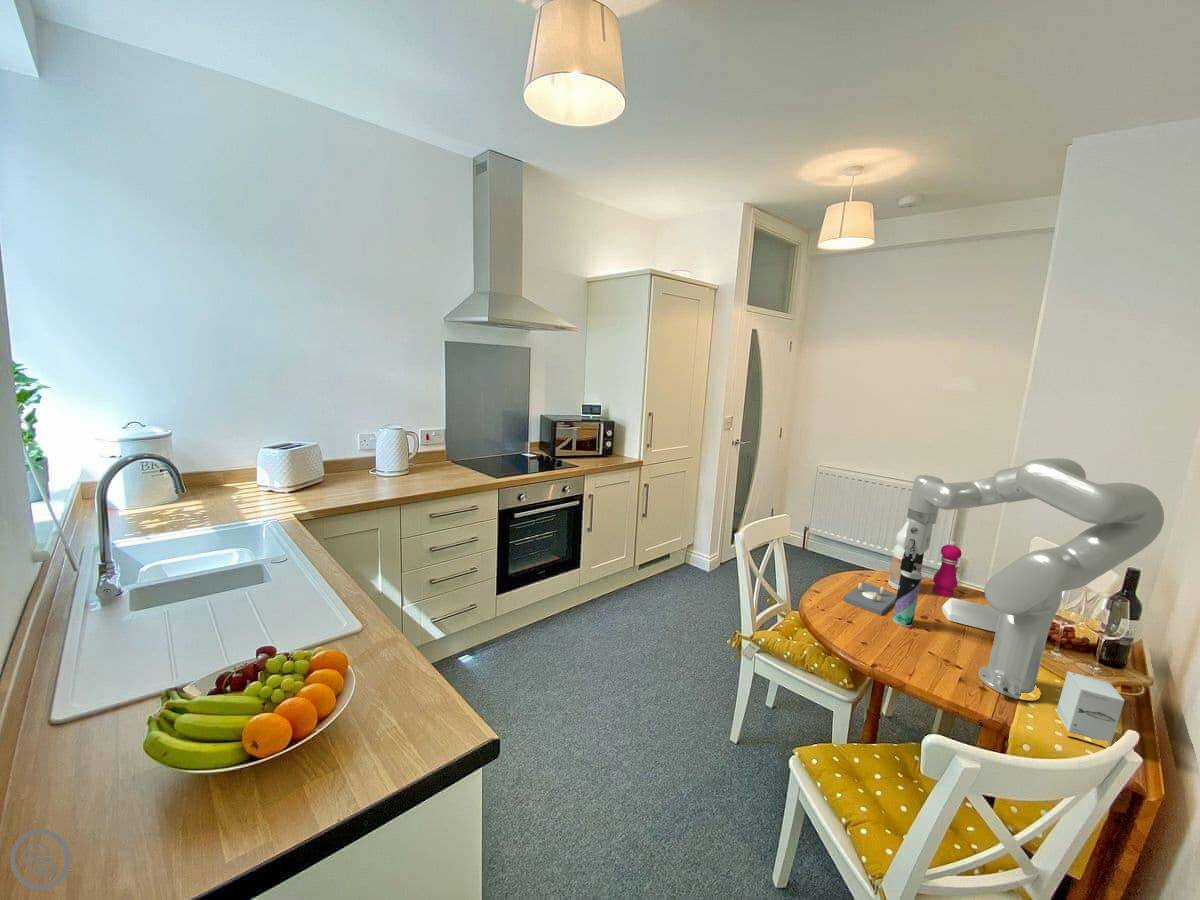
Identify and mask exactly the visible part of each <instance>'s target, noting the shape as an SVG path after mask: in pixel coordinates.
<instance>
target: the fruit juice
mask: <svg viewBox="0 0 1200 900" xmlns="http://www.w3.org/2000/svg"><path fill="white" fill-rule="evenodd" d="M909 521H910V520H909V519H908V518H907V517H906V522H905V524H904V525H903V526H902V528H901V529H900V530H899V531H898V532H897V534H896V537H895V539H896V544H895V546H894V548H893V551H892V557H891V562H890V568H889V574H888V580H887V584H888V586H889V585H890V586H891V587H890V586H889V587H890V588H892V589H893V588H894V590H895V589H896V590H895V591H898V587H899V581H900V576H901V571H902V570H901V569H900V567H901V562H902V558H903V555H904V552H905V550H904V541H905V537H906V532H907V528H908V525H909ZM911 550H912V549H911ZM924 557H925V556H923V559H924ZM923 563H924V560H923V561H922V564H917V563H914V565H916V568H917V569H918V571H919V572H921V573H922V569H923V568H922V567H923Z"/></svg>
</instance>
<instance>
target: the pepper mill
mask: <svg viewBox="0 0 1200 900" xmlns="http://www.w3.org/2000/svg"><path fill="white" fill-rule="evenodd" d="M940 549H941V550H940V554H941V555H942V556H941V559H940V561H941V564H940V568H939V569H938V570H937V572H935V574H934V576H933V578H932V580H933V581H932V582H933V583H934V584H933V587H932V591H933V592H934V593H935V594H936V595H939V596H943V597H946V598H949V597H951V598H953V596H954V594H955V590H954V589H956V588H957V587H958V578H957V575H956V566H957V565H958V563H959V559H960V558H961V557H962V550H961V549H960V547H958V546H957V543H956V541H950V542H949V544H944V545H943V546H942V547H941V548H940Z"/></svg>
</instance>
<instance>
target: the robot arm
mask: <svg viewBox="0 0 1200 900" xmlns="http://www.w3.org/2000/svg"><path fill="white" fill-rule="evenodd" d="M1086 475H1087V473H1086V472H1085V469H1084V468H1083V466H1082V465H1080V464H1079V463H1078V462H1077V461H1075V460H1072V459H1068V458H1061V457H1060V458H1059V457H1057V458H1037V459H1032V460H1029V461H1027V462H1024V464H1022V465H1019V466H1016V467H1015V466H1014V467H1010V468H1004V469H1000V470H997V471H996V472H995V473H994V474H993V476H990V477H987V478H981V479H977V480H970V481H965V482H962V481H961V482H945V481H944V480H943V479H941V478H939V477H936V476H933V475H927V474H926V475H925V474H920V475H917V476H915V478H914V481H913V485H912V489H911V494H910V499H909V504H908V508H907V515H906V519H907V518H908V519H909V520H910V521H909V525H908V528H907V532H906V537H905V541H904V550H905V552H904V555H903V558H902V562H901V567H900V569H901V570H903V571H906V572H909V573H912V572H913V567H914V563H917V564H922V565H923V563H922V561H923V562H924V558H923V556H924V554H925V553H926V552H927V551H928V550H929V548H930V545H931V539H932V533H933V527H934V525H935V524H936V523H937V520H938V514H939V509H941V510H946V511H947V510H961V509H970V508H972V509H973V508H978V507H985V506H991V505H996V504H1002V503H1016V502H1019V501H1020V502H1021V501H1027V500H1032V499H1037V500H1039V501H1040V502H1043V503H1044V504H1047V505H1049V506H1051V507H1053V508H1054V509H1057V510H1059V511H1061V512H1063V513H1066V514H1067V515H1069V516H1071V517H1072V518H1075V519H1077V520H1080V521H1083V522H1086V523H1089V524H1093V526H1091V527H1089V528H1087V529H1085V530H1084V531H1082V532H1080V533H1079V534H1078V535H1077V536H1075V537H1074V538H1072V539H1070V540H1069V541H1067V542H1065V543H1063V544H1061V545H1060V546H1056V547H1051V548H1044V549H1038V550H1034V551H1031V552H1028V553H1026V554H1024V555H1022V556H1020V557H1018V559H1015V560H1014V561H1013V562H1012V563H1010V564H1008V565H1007V566H1006V567H1004V568H1003V569H1002V570H999V572H997V573H995V575H993V576H991V577H990V578H989V579H988V581H987V582H986V583H985V586H984V589H983V590H984V597H985V600H986V602H987V603H988V605H989V606H990V607H993V608H994V609H995V610H997V611H999V612H1001V613H1000V616H999V620H998V624H997V628H996V632H994V633H995V634H994V638H993V642H992V647H991V649H990V655H989V660H988V664H987V665H984V666H981V667H979V669H978V673H977V674H978V678H979V679H980V680H981V682H983V684H985V685H986V686H988V687H989V688H990V689H992V690H994V691H996V692H998V693H999V694H1001V695H1004V696H1006V697H1008V698H1011V699H1014V700H1018V698H1019V697H1020V696H1021V693H1030V692H1032V691H1033V690H1034V687H1035V684H1036V682H1037V679H1038V675H1039V670H1040V667H1041V663H1042V659H1043V655H1044V651H1045V648H1046V644H1047V639H1048V636H1049V633H1050V630H1051V627H1052V624H1053V621H1054V618H1055V616H1056V614H1057V612H1058V611H1059V608H1060V606H1061V604H1062V600H1063V592H1065V591H1070V590H1071V591H1072V590H1076V589H1080V588H1083V587H1085V586H1087V585H1089V584H1090V583H1091V582H1094V581H1095V580H1096V579H1098V578H1099V577H1101V576H1102V575H1104V574H1106V573H1108V572H1110V571H1112V570H1113V569H1114V568H1116V567H1118V566H1119V565H1120V564H1122V563H1124V562H1125V561H1127V560H1129V559H1131V558H1132V557H1133V556H1136V555H1137V554H1139V553H1140V552H1142V551H1143V550H1144V549H1146V548H1147V547H1148V546H1149V545H1151V544H1152V543H1153V542H1154V541H1155V540H1156V539H1157V538H1158V536H1159V534H1160V533H1161V532H1162V529H1163V527H1164V522H1165V511H1164V507H1163V505H1162V503H1161V501H1160V499H1159V498H1158V497H1157V495H1156V494H1155V493H1154V492H1153V491H1152V490H1150V489H1148V488H1147V487H1144V486H1142V485H1139V484H1135V483H1130V482H1112V483H1111V482H1110V483H1096V482H1093V481H1091V480H1088V479H1087V476H1086ZM911 549H912V550H911ZM924 557H925V556H924Z"/></svg>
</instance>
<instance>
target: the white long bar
mask: <svg viewBox="0 0 1200 900" xmlns="http://www.w3.org/2000/svg"><path fill="white" fill-rule="evenodd" d="M941 610H942V613H943V615H944V616H945V618H946V619H947V620H948V621H950V622H954V623H959V624H961V625H964V626H965V625H966V626H970V627H974V628H976V629H977V628H978V629H981V630H985V631H990V632H993V633H996V628H997V624H998V620H999V616H1000V613H1001V612H999V611H997V610H995V609H994V608H993V607H991V606H990V605H989V606H988V605H985V604H981V603H976V602H972V601H968V600H963V599H958V598H956V597H955V598H954V597H951V598H949V599H948V600H947V601H946V602H944V604H943V605H942V607H941Z"/></svg>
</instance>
